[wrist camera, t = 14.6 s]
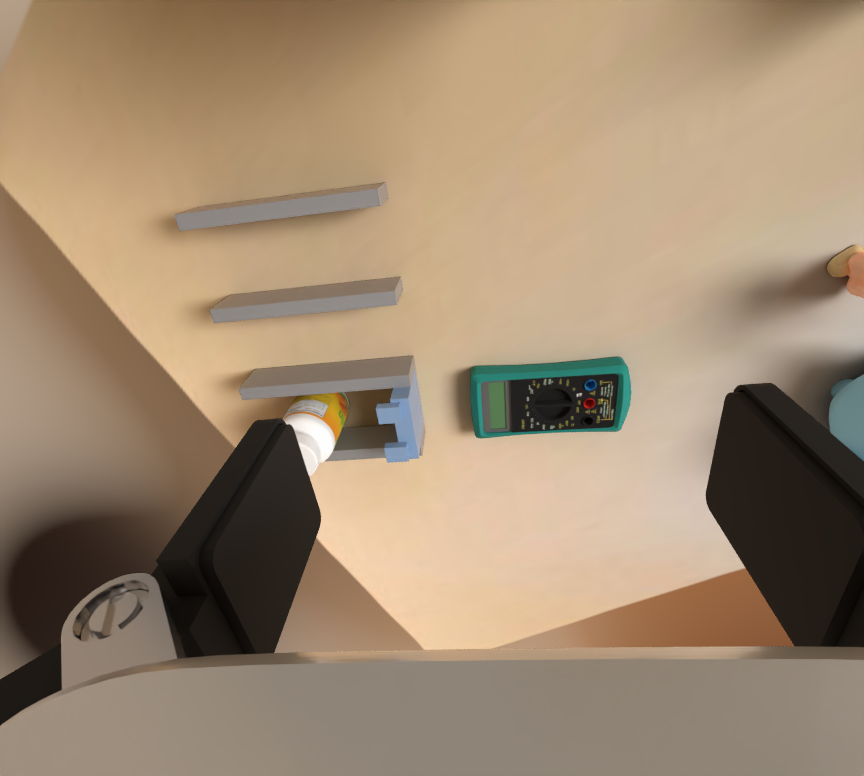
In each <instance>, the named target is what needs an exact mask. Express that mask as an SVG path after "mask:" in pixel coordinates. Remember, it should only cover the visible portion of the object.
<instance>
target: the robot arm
mask: <svg viewBox="0 0 864 776" xmlns="http://www.w3.org/2000/svg"><path fill="white" fill-rule="evenodd" d="M706 501H707V505H708V508H709V510H710V511H711V513H712V515H713V516H714V518H715V519H716V521H717V523H718V524H719V526H720V527H721V529H722V531H723V532H724V534H725V535H726V537H727V539H728V540H729V542H730V543H731V545H732V547H733V548H734V550H735V551H736V553H737V555H738V556H739V558H740V559H741V561H742V563H743V564H744V566H745V567H746V569H747V571H748V572H749V574H750V575H751V577H752V579H753V580H754V582H755V583H756V585H757V587H758V588H759V590H760V591H761V593H762V595H763V596H764V598H765V599H766V601H767V603H768V604H769V606H770V608H771V609H772V611H773V612H774V614H775V616H776V617H777V619H778V620H779V622H780V623H781V625H782V627H783V628H784V630H785V631H786V633H787V635H788V636H789V638H790V639H791V641H792V643H793V644H794V646H774V647H773V646H771V647H770V646H767V647H766V646H763V647H761V646H760V647H625V648H623V647H621V648H620V647H619V648H541V649H540V648H533V649H457V650H399V651H349V652H348V651H344V652H295V653H274V652H275V649H276V646H277V643H278V641H279V638H280V635H281V632H282V630H283V627H284V624H285V621H286V619H287V616H288V613H289V610H290V608H291V605H292V602H293V599H294V596H295V594H296V591H297V588H298V585H299V583H300V580H301V577H302V574H303V572H304V569H305V566H306V563H307V561H308V558H309V555H310V552H311V550H312V547H313V544H314V541H315V539H316V536H317V533H318V530H319V528H320V523H321V513H320V509H319V506H318V503H317V500H316V497H315V493H314V490H313V487H312V484H311V481H310V478H309V475H308V472H307V468H306V465H305V462H304V459H303V456H302V453H301V450H300V447H299V443H298V440H297V437H296V434H295V431H294V428H293V427H292V425H290V424H286V423H285V422H284V420H283V419H268V420H257V421H255V422H254V423H253V424H252V426H251V427H250V429H249V430H248V431H247V433H246V434H245V436H244V437H243V438H242V440H241V441H240V443H239V444H238V445H237V447H236V448H235V450H234V451H233V453H232V454H231V456H230V457H229V458H228V460H227V461H226V462H225V464H224V465H223V467H222V468H221V470H220V471H219V472H218V474H217V475H216V477H215V478H214V480H213V481H212V482H211V484H210V485H209V487H208V488H207V489H206V491H205V492H204V494H203V495H202V497H201V498H200V499H199V501H198V502H197V503H196V505H195V506H194V508H193V509H192V510H191V512H190V513H189V515H188V516H187V518H186V519H185V520H184V522H183V523H182V525H181V526H180V527H179V529H178V530H177V532H176V533H175V535H174V536H173V537H172V539H171V540H170V542H169V543H168V544H167V546H166V547H165V549H164V550H163V551H162V553H161V554H160V556H159V557H158V559H157V560H156V561H157V563H158V566H157V568H156V569H155V571H154V572H153V573H152V575H151V576H150V575H148V574H142V573H134V574H129V575H125V576H121V577H119V578H116V579H114V580H112V581H109V582H107V583H105V584H104V585H102V586H100V587H99V588H97V589H96V590H94V591H93V592H91V593H90V594H89V595H88V596H87V597H85V598H84V599H83V600H82V601H81V602H80V603H79V604H78V605H77V606H76V607H75V608H74V610H73V611H72V612H71V613H70V615H69V616H68V618H67V620H66V622H65V623H64V626H63V630H62V635H61V644H59V645H57V646H56V647H54V648H52V649H51V650H49V651H48V652H46V653H44V654H42V655H41V656H39V657H38V658H36V659H34V660H32V661H31V662H29V663H27V664H25V665H24V666H22V667H20V668H19V669H17V670H15V671H14V672H12V673H10V674H9V675H7V676H5V677H3V678H2V679H0V776H864V461H863V460H862V459H861V458H859V457H858V456H857V455H856V454H855V453H854V452H852V451H851V450H850V449H849V448H848V447H847V446H845V445H844V444H843V443H842V442H841V441H840V440H838V439H837V438H836V437H835V436H834V435H833V434H831V433H830V432H829V431H828V430H827V429H826V428H824V427H823V426H822V425H821V424H820V423H819V422H817V421H816V420H815V419H814V418H813V417H812V416H810V415H809V414H808V413H807V412H806V411H805V410H803V409H802V408H801V407H800V406H799V405H798V404H796V403H795V402H794V401H793V400H792V399H791V398H789V397H788V396H787V395H786V394H785V393H784V392H782V391H781V390H780V389H779V388H778V387H777V386H775V385H774V384H772V383H761V384H748V385H739V386H737V387H736V388H735V390H734V392H733V393H728V394H727V396H726V397H725V401H724V406H723V411H722V416H721V420H720V425H719V430H718V435H717V440H716V445H715V450H714V455H713V460H712V465H711V470H710V475H709V480H708V485H707V490H706Z"/></svg>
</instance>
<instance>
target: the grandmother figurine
mask: <svg viewBox="0 0 864 776" xmlns="http://www.w3.org/2000/svg"><path fill="white" fill-rule="evenodd" d="M827 271H828V273H829V274H830V275H831V276H833V277H843V276H847V275H848V276H849V277H850V278H849V280H848V283H847V289H848V291H849V293H851V294H853V295H856V296H859V297H862V298H864V248H863V247H862V246H860V245H853V246H851V247H849V248H848V249H846V250H844V251H843V252H841V253H840V254H838V255H837V256H835V257H834V258H833V259H832V260H831V261H830V262H829V264H828V266H827Z"/></svg>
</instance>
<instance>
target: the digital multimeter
mask: <svg viewBox="0 0 864 776" xmlns="http://www.w3.org/2000/svg"><path fill="white" fill-rule="evenodd" d="M600 374H602V375H600ZM568 376H570V377H568ZM551 377H554V378H551ZM536 378H538V379H536ZM520 379H522V380H520ZM617 391H618V393H617ZM572 397H573V398H572ZM630 400H631V383H630V377H629V371H628V367H627V365H626V364H625V362H624V361H623V359H622V358H621V357H611V358H602V359H593V360H584V361H573V362H562V363H551V364H532V365H506V366H475V367H473V368H472V369H471V410H472V419H473V426H474V431H475V435H476V437H477V438H490V437H500V436H511V435H522V434H538V433H556V432H616V431H619V430H620V429H621V428H622V425H623V423H624V421H625V418H626V416H627V412H628V409H629V406H630ZM616 401H617V402H616ZM532 409H533V410H532ZM615 411H616V412H615Z"/></svg>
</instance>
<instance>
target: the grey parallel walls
mask: <svg viewBox="0 0 864 776" xmlns="http://www.w3.org/2000/svg"><path fill="white" fill-rule="evenodd" d="M387 199H388V194H387V188H386V182H385V183H378V184H370V185H362V186H355V187H347V188H339V189H332V190H324V191H316V192H309V193H301V194H293V195H286V196H278V197H270V198H263V199H255V200H247V201H240V202H232V203H224V204H217V205H209V206H201V207H197V208H194V209H191V210H188V211H185V212H182V213H178V214H175V215H174V217H175V219H176V222H177V225H178V227H179V230H180V231H184V230H192V229H200V228H208V227H216V226H224V225H232V224H240V223H248V222H256V221H264V220H272V219H280V218H288V217H296V216H304V215H312V214H320V213H328V212H336V211H344V210H352V209H360V208H368V207H376V206H381V205H382V204H383V203H384V202H385V201H386V200H387ZM402 291H403V288H402V282H401V277H393V278H384V279H374V280H365V281H355V282H346V283H337V284H327V285H318V286H308V287H299V288H290V289H280V290H271V291H261V292H252V293H243V294H233V295H229V296H228V297H226V298H225V299H223V300H222V301H221V302H219V303H218V304H217V305H215V306H214V307H212V308H211V309H210V310H209V311H210V314H211V316H212V319H213V322H214V323H221V322H231V321H241V320H251V319H261V318H271V317H281V316H292V315H302V314H312V313H322V312H332V311H342V310H352V309H362V308H372V307H382V306H392V305H397V304H398V301H399V298H400V296H401V293H402ZM389 388H393V391H392V394H391V398H390V402H391V403H384V404H377V406H376V413H377V417H378V422H379V424H391V423H395V424H394V425H380V426H366V427H351V428H342V430H341V432H340V435H339V437H338V440H337V442H336V445H335V447H334V449H333V452H332V453H331V455H330V456H329V458H328V459H326V460H325V461H339V460H355V459H372V458H386V459H387V462H404V461H409V459H416V458H419V456H421V455H422V453H423V446H424V438H425V427H424V420H423V414H422V408H421V401H420V395H419V389H418V383H417V376H416V370H415V364H414V357H413V356H402V357H390V358H379V359H367V360H356V361H344V362H332V363H321V364H309V365H298V366H286V367H274V368H263V369H255V370H254V371H253V372H252V373H251V375H250V376H249V377H248V378H247V379H246V380H245V382H244V383H243V384H242V385H241V386H240V388H239V392H240V395H241V397H242V400H249V399H261V398H274V397H287V396H300V395H312V394H325V393H338V392H351V391H363V390H376V389H389Z"/></svg>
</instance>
